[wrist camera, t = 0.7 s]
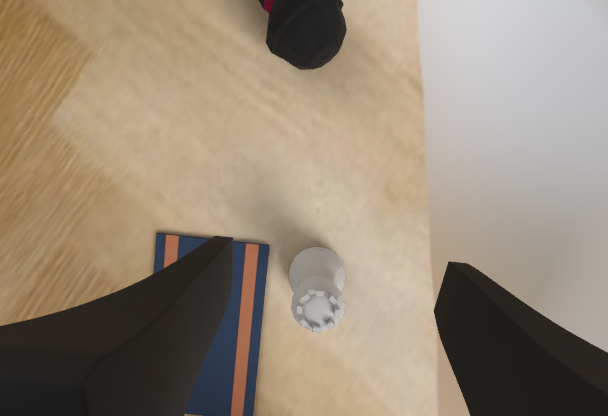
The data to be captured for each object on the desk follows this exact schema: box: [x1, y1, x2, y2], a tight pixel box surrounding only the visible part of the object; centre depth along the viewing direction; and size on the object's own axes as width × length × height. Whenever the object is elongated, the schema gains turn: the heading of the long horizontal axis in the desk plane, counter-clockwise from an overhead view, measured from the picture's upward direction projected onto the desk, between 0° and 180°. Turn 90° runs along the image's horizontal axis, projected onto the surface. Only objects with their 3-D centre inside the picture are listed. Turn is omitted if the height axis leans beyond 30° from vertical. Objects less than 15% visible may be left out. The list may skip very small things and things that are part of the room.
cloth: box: [154, 233, 269, 416], centre depth 29 cm, size 15×9×1 cm, turn 174°
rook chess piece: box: [289, 247, 345, 333], centre depth 25 cm, size 4×4×8 cm
